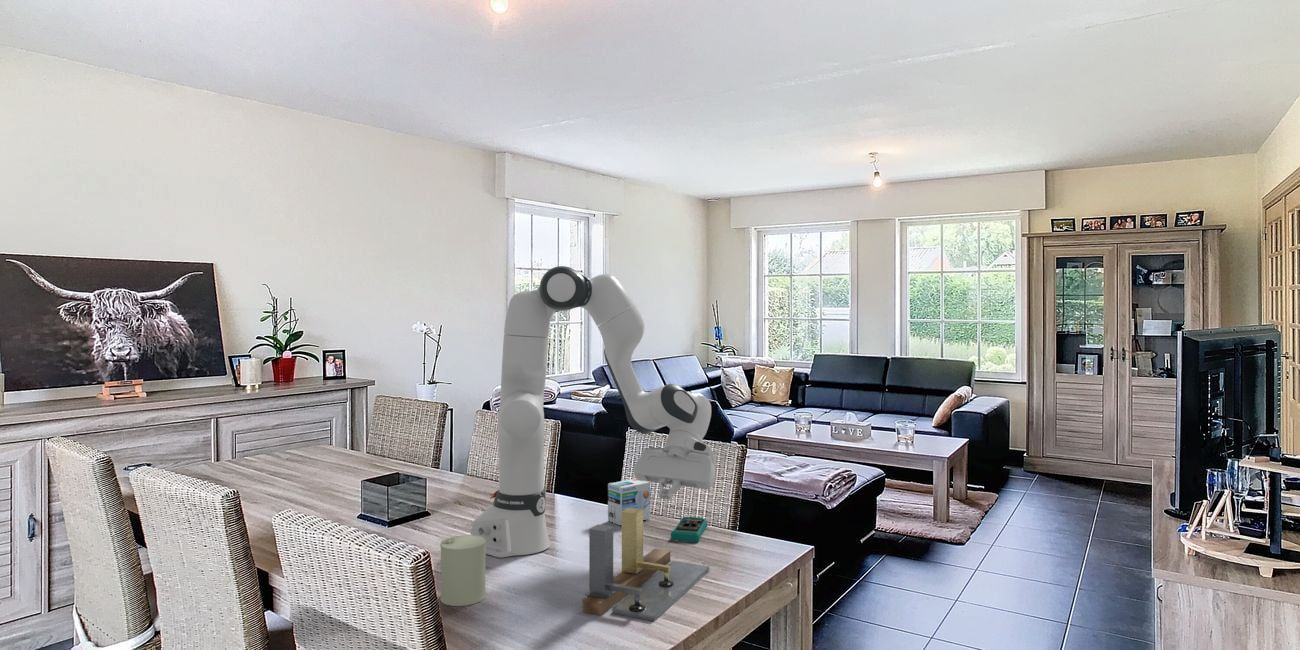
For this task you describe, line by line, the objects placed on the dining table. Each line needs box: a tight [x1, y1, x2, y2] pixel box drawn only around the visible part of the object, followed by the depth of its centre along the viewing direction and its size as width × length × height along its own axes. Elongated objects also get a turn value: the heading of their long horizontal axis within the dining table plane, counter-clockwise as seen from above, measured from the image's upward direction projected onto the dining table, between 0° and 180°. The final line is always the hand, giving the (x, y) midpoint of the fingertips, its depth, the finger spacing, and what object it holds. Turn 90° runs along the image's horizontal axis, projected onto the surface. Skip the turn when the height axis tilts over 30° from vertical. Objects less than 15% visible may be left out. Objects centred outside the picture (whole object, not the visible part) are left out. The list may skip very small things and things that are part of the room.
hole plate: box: [611, 560, 710, 622], centre depth 155 cm, size 9×30×1 cm, turn 155°
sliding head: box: [621, 508, 671, 582], centre depth 158 cm, size 10×4×14 cm, turn 65°
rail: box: [582, 548, 671, 616], centre depth 158 cm, size 4×34×2 cm, turn 155°
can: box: [439, 534, 487, 607], centre depth 151 cm, size 9×9×12 cm
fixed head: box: [585, 523, 642, 606], centre depth 145 cm, size 11×4×14 cm, turn 65°
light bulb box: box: [607, 477, 651, 527], centre depth 207 cm, size 11×7×11 cm, turn 131°
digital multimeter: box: [670, 516, 708, 543], centre depth 195 cm, size 7×15×3 cm, turn 166°
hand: (664, 497), depth 175 cm, fingers closed
